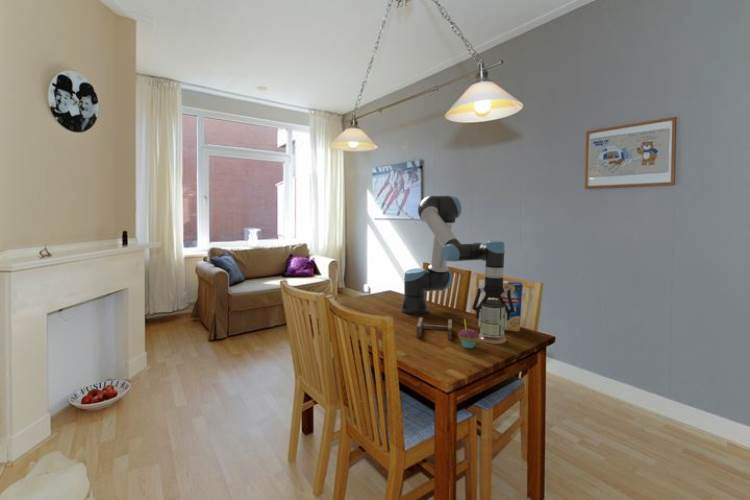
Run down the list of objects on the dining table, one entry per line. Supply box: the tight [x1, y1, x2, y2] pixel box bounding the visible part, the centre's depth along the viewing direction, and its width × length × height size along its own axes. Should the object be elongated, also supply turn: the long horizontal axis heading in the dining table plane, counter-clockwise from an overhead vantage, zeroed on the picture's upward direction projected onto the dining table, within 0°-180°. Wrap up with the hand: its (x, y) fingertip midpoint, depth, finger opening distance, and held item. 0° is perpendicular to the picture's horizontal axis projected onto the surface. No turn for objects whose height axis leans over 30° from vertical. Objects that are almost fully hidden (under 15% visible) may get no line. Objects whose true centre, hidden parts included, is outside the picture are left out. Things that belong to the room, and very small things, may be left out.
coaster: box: [478, 333, 507, 345], centre depth 159 cm, size 12×12×1 cm
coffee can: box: [479, 299, 506, 338], centre depth 158 cm, size 10×10×14 cm
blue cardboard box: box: [496, 280, 523, 332], centre depth 173 cm, size 7×11×22 cm, turn 69°
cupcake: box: [457, 317, 480, 349], centre depth 150 cm, size 9×8×12 cm
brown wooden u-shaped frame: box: [416, 316, 453, 341], centre depth 166 cm, size 14×15×5 cm
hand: (492, 326), depth 159 cm, fingers closed on coffee can, 10 cm apart
